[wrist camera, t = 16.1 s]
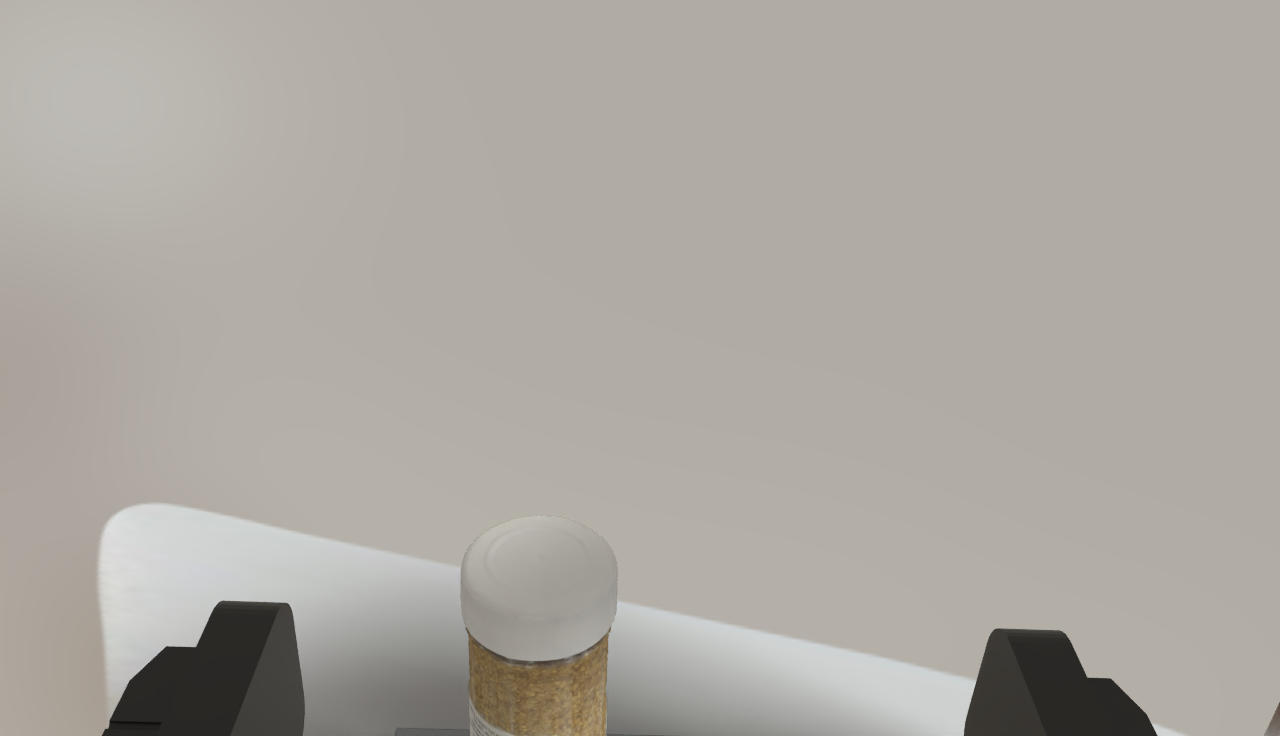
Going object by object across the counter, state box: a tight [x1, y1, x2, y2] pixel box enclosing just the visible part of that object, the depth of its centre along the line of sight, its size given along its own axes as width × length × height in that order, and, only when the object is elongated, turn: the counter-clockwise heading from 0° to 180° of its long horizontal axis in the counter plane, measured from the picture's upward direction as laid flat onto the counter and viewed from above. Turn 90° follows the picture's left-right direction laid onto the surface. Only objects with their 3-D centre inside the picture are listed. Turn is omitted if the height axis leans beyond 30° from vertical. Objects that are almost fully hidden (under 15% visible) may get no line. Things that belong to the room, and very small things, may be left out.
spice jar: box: [461, 516, 617, 736], centre depth 36 cm, size 5×5×13 cm
